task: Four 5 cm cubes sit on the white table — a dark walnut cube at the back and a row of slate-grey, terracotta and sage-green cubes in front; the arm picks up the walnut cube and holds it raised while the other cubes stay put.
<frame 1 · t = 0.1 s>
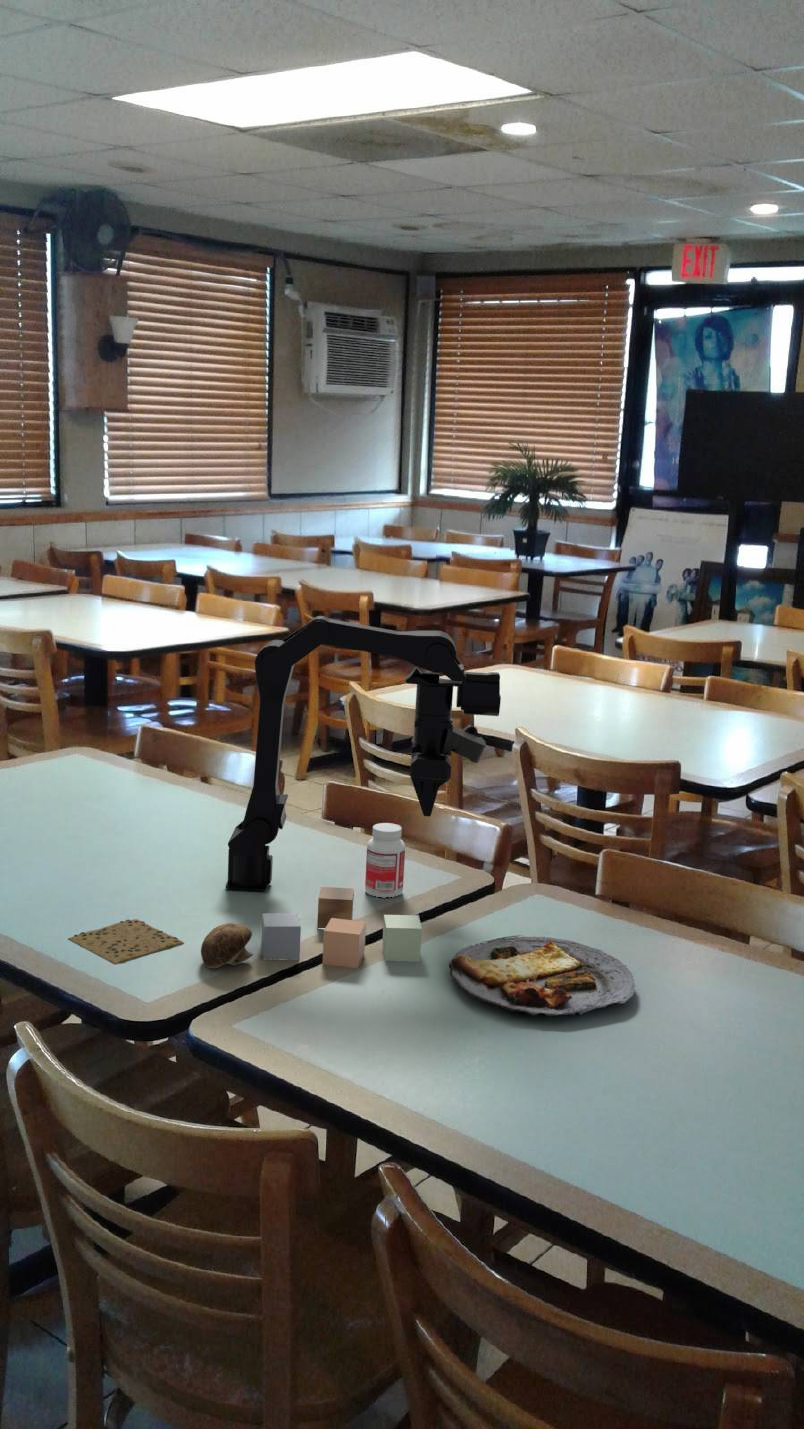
hand: (427, 807, 201), 15 cm above the table, fingers open, 9 cm apart
mushroom: (225, 965, 173), on the table
food plate: (539, 988, 172), on the table
sage cube: (400, 954, 180), on the table
slate cube: (280, 953, 178), on the table
walnut cube: (334, 924, 189), on the table
terracotta cube: (343, 959, 177), on the table
pill bottle: (383, 893, 204), on the table
cookie: (125, 945, 179), on the table
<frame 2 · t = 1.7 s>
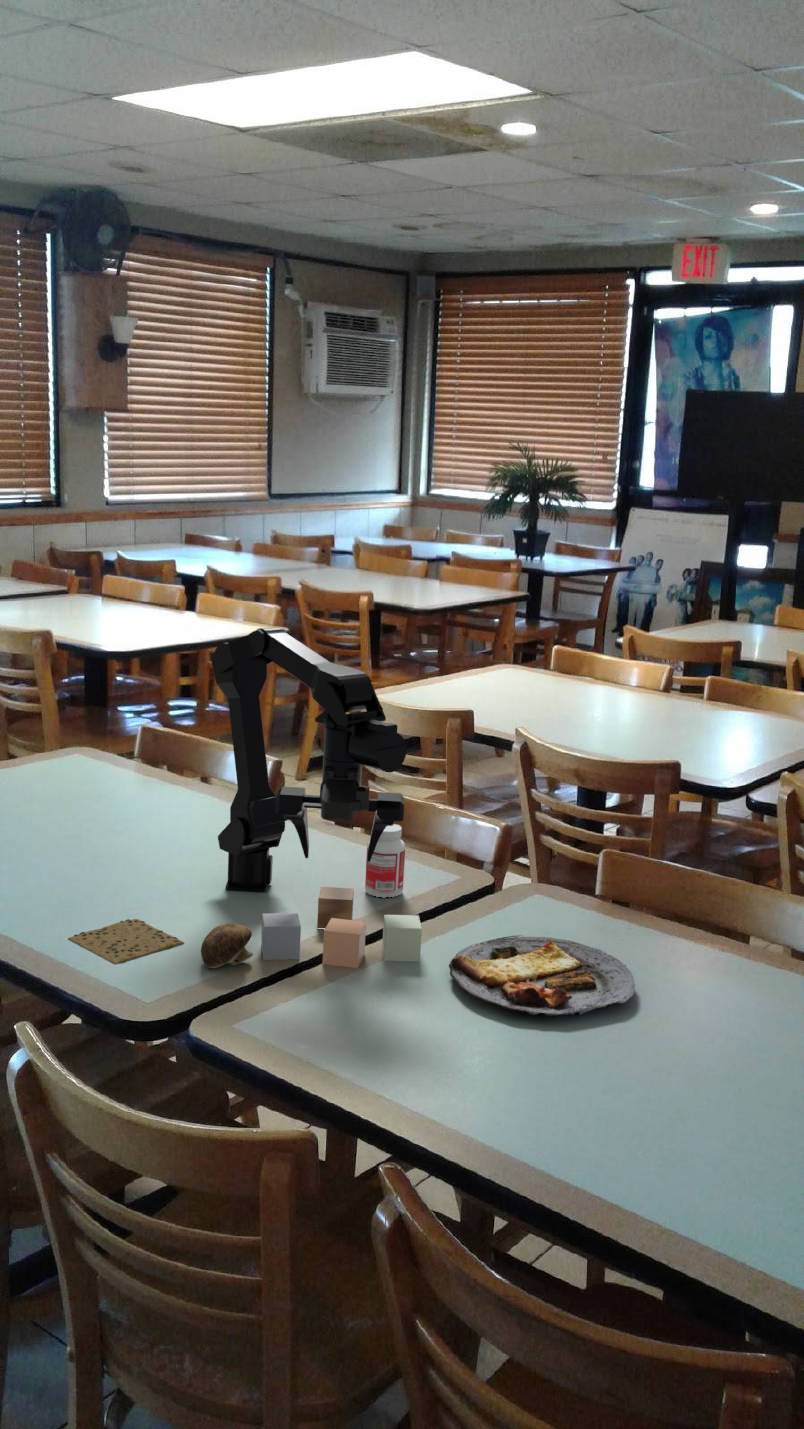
hand: (337, 859, 187), 10 cm above the table, fingers open, 9 cm apart
nothing on the table moved.
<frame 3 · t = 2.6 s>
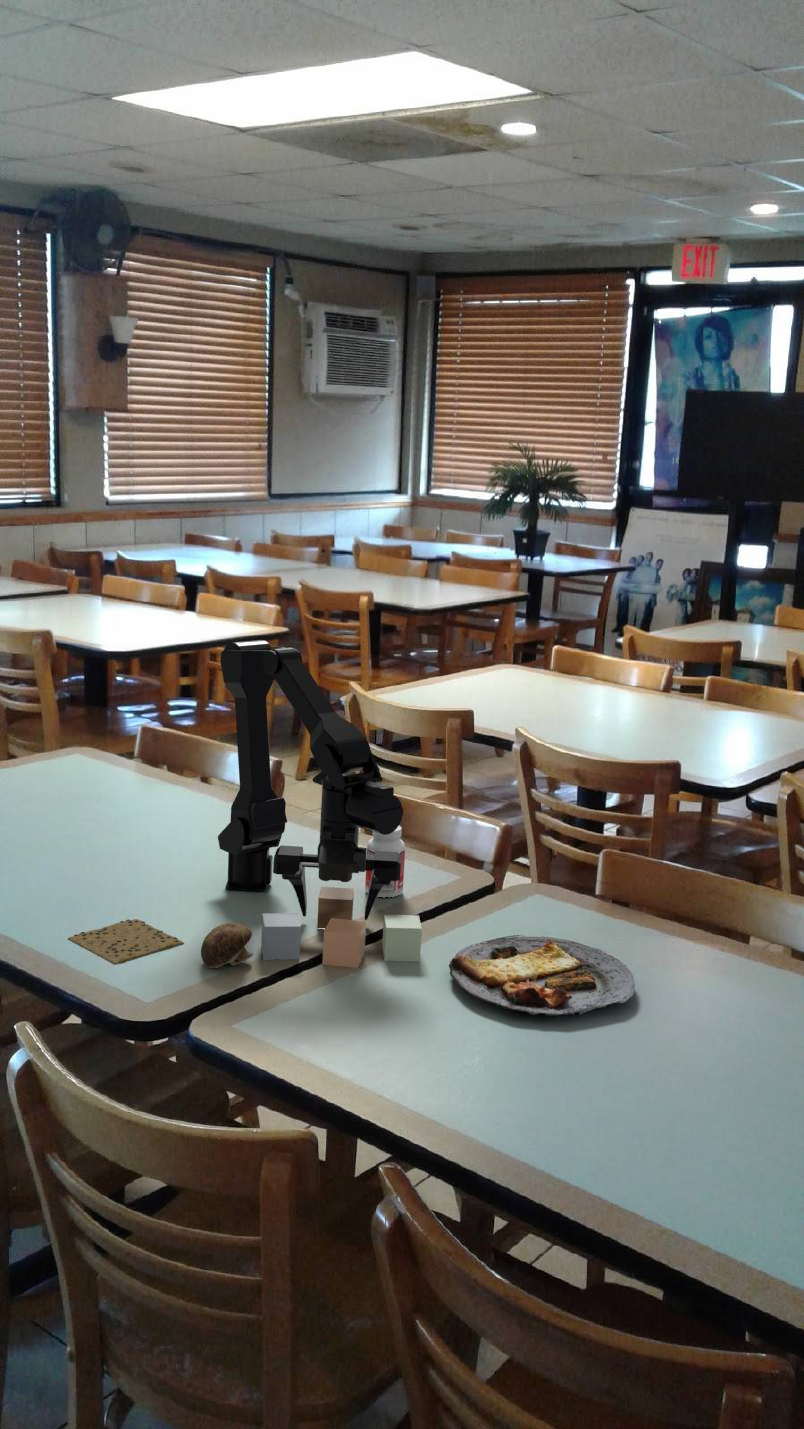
hand: (335, 917, 189), 1 cm above the table, fingers open, 9 cm apart
nothing on the table moved.
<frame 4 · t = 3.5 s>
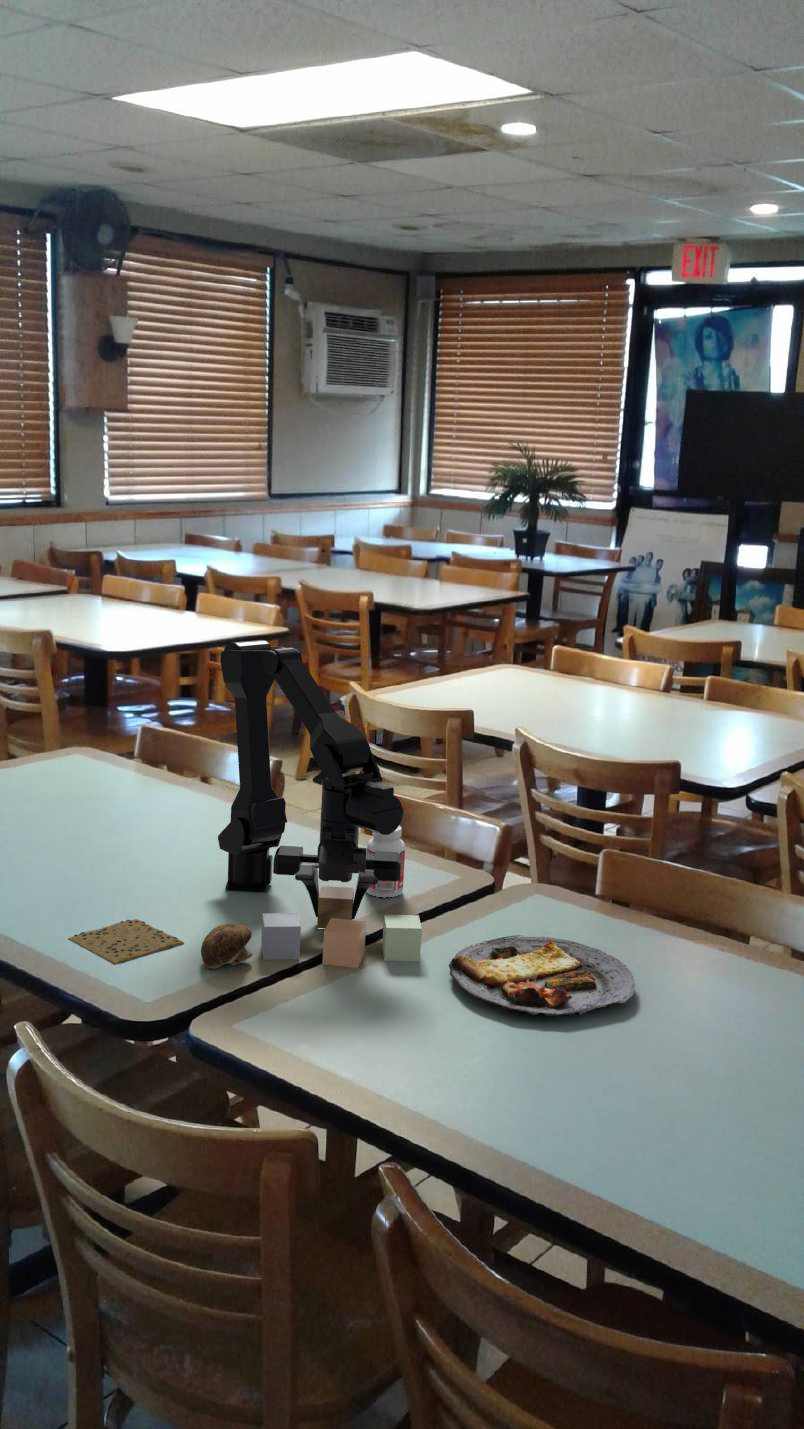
hand: (335, 917, 189), 1 cm above the table, fingers closed on walnut cube, 5 cm apart
walnut cube: (334, 924, 189), on the table, touching gripper
everything else where it was.
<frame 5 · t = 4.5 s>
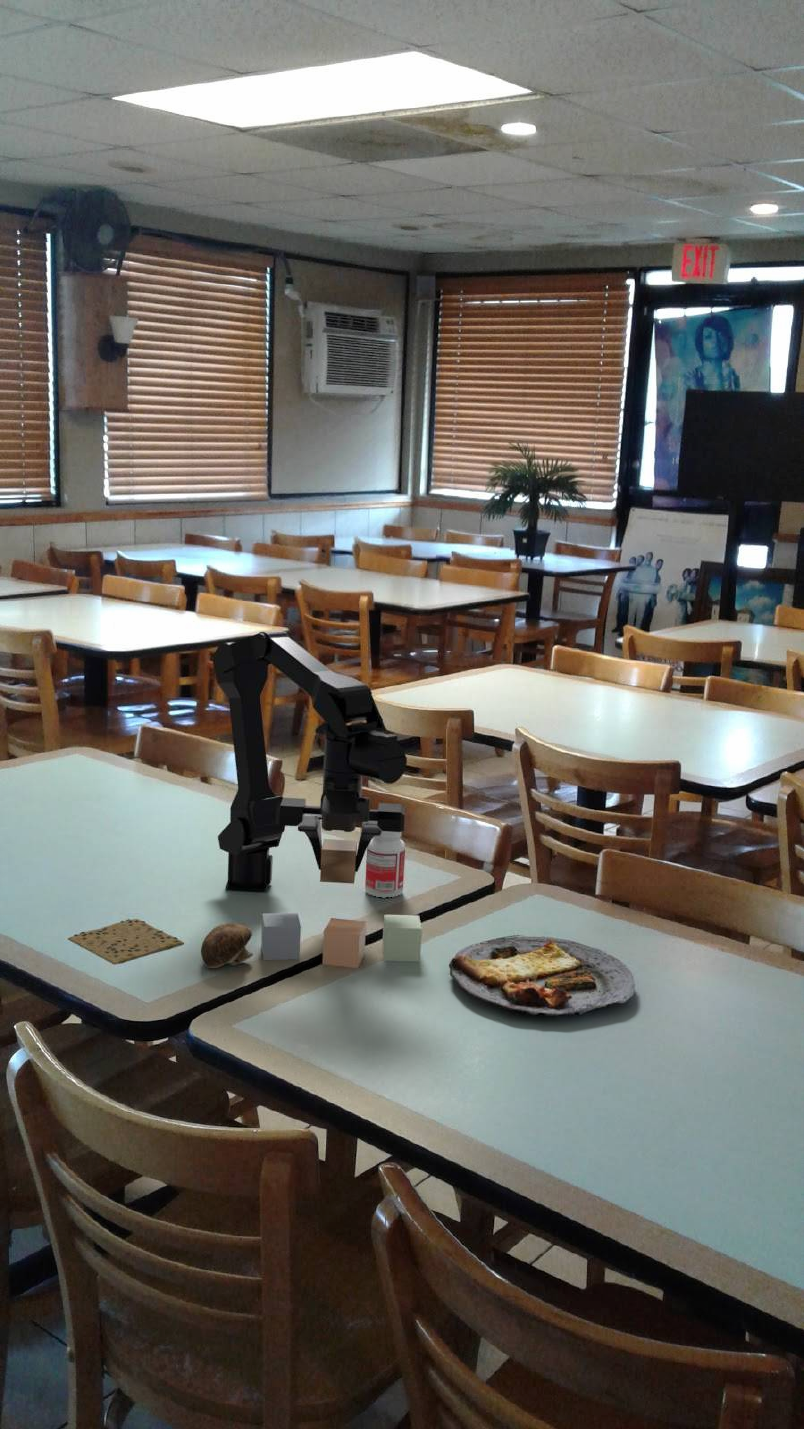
hand: (338, 870, 188), 9 cm above the table, fingers closed on walnut cube, 5 cm apart
walnut cube: (338, 877, 188), point 7 cm above the table, touching gripper
everything else where it was.
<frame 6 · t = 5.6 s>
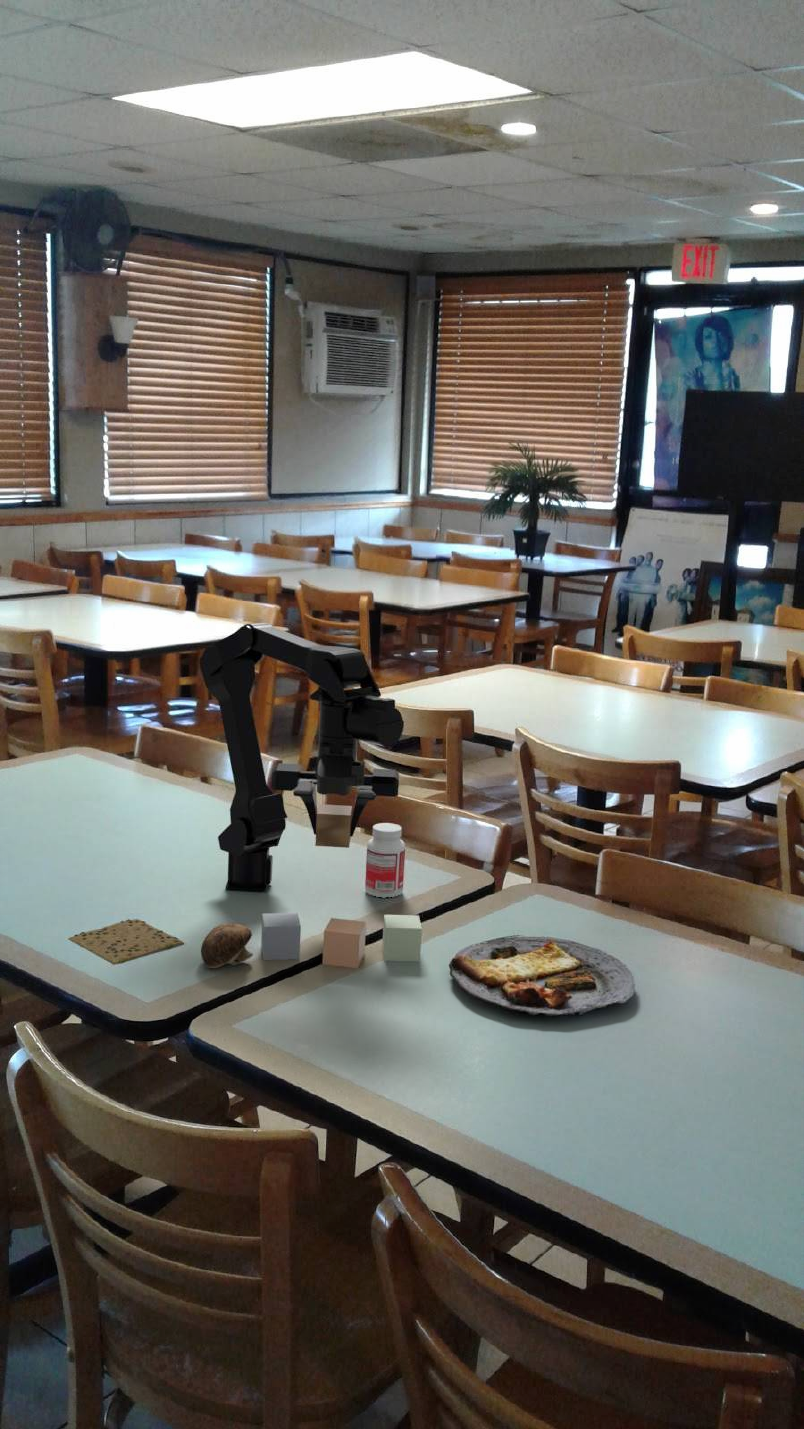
hand: (333, 834, 190), 13 cm above the table, fingers closed on walnut cube, 5 cm apart
walnut cube: (333, 841, 190), point 12 cm above the table, touching gripper
everything else where it was.
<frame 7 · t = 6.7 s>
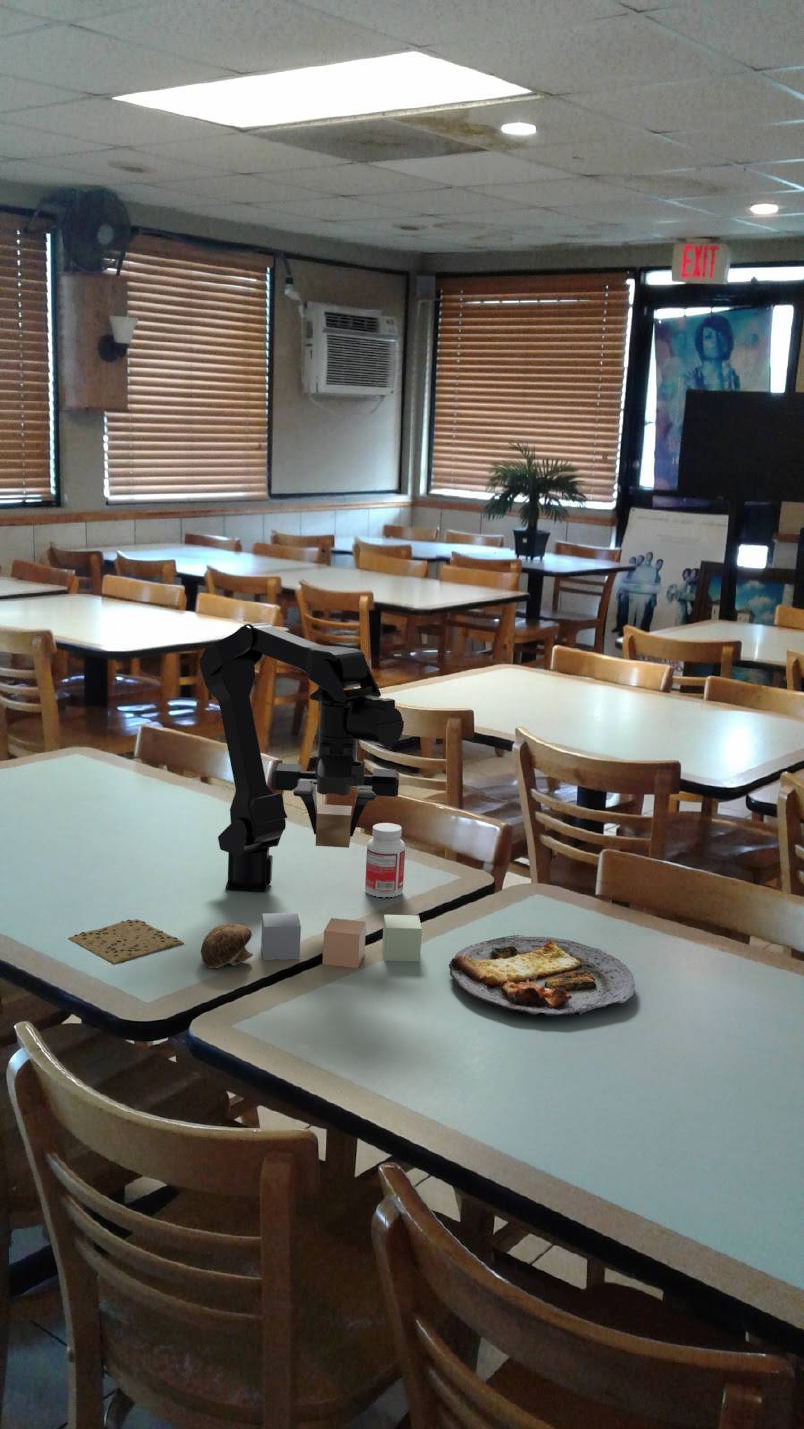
hand: (333, 834, 190), 13 cm above the table, fingers closed on walnut cube, 5 cm apart
walnut cube: (333, 841, 190), point 12 cm above the table, touching gripper
everything else where it was.
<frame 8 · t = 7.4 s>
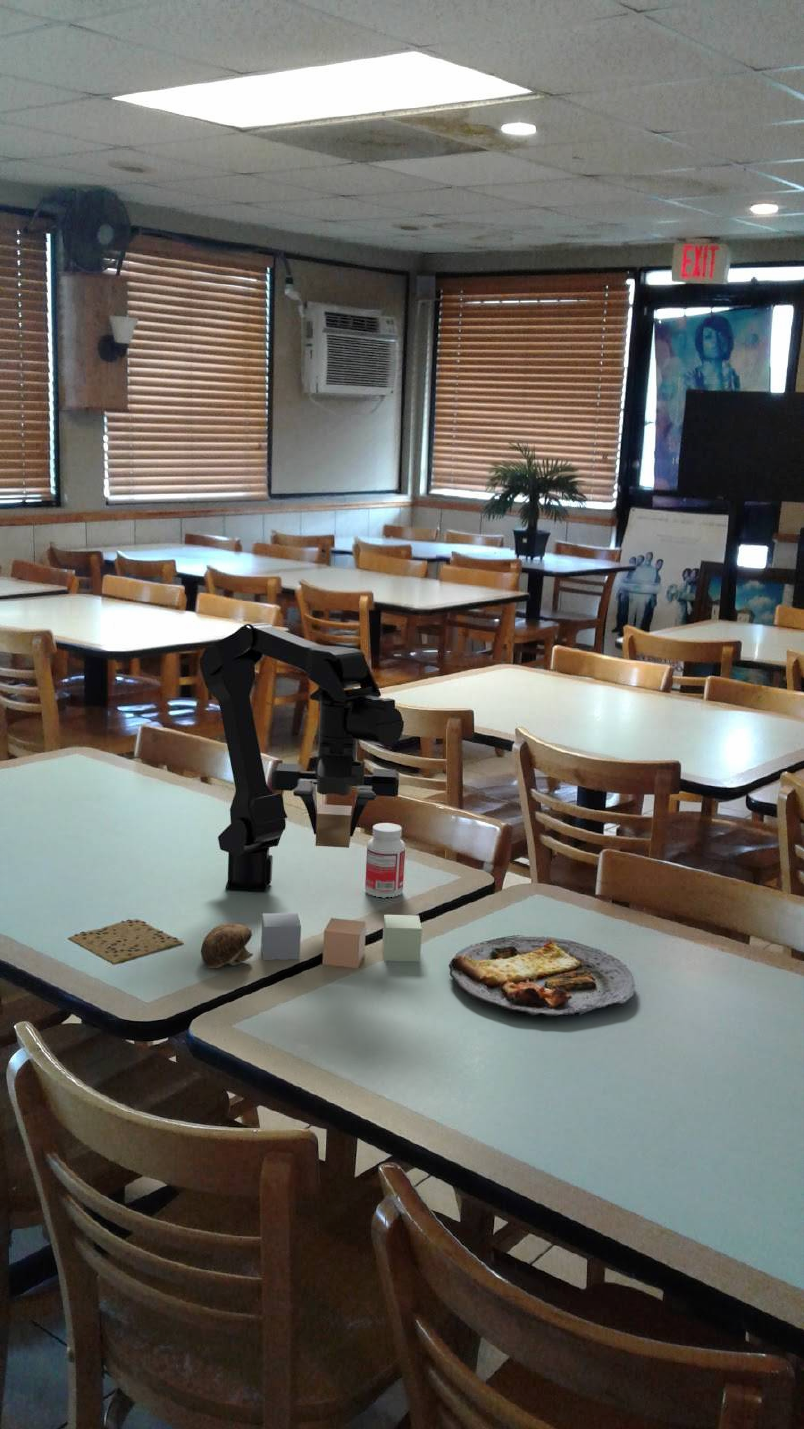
hand: (333, 834, 190), 13 cm above the table, fingers closed on walnut cube, 5 cm apart
walnut cube: (333, 841, 190), point 12 cm above the table, touching gripper
everything else where it was.
at the end: the gripper is holding walnut cube; walnut cube point 11.9 cm above the table; sage cube moved 0.1 cm from its start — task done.
